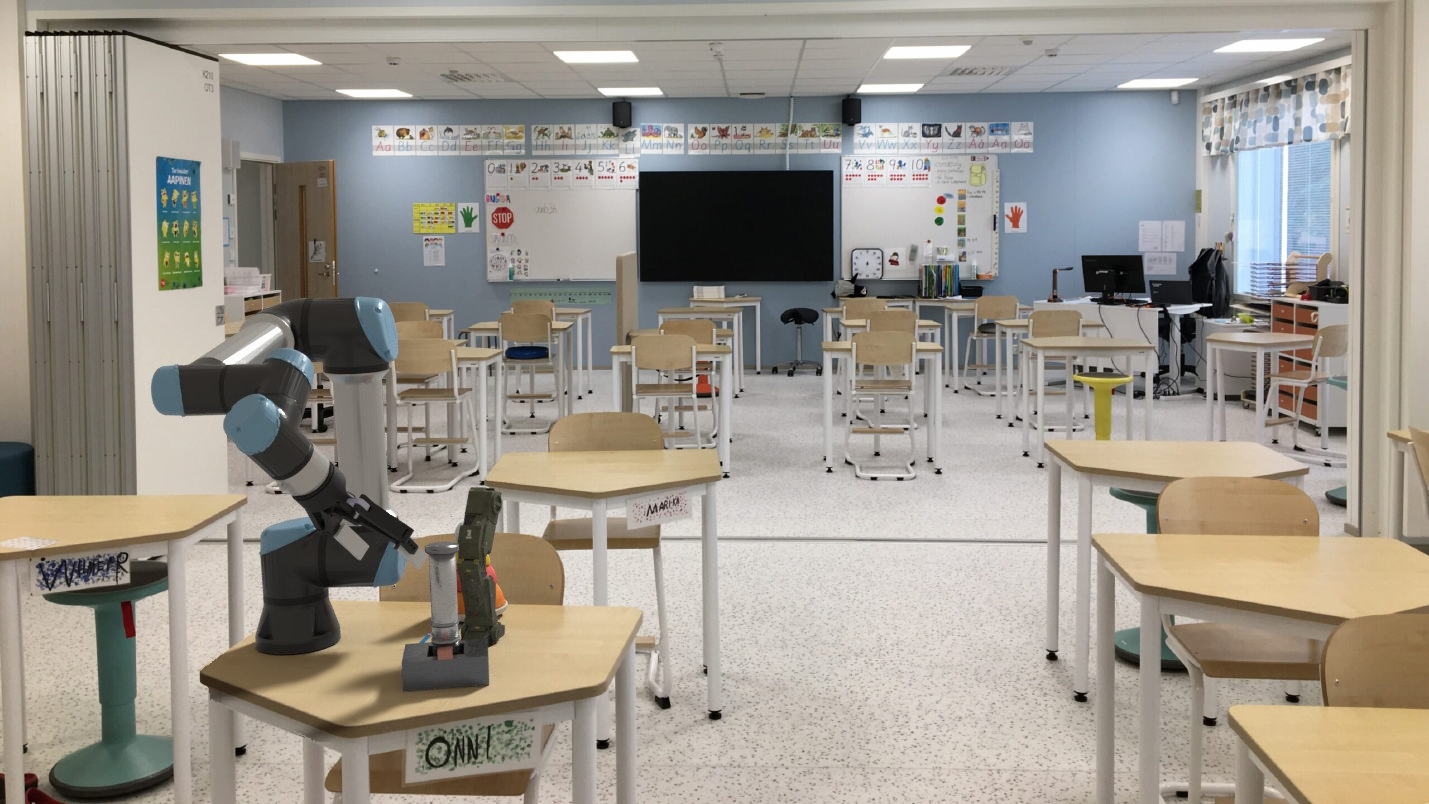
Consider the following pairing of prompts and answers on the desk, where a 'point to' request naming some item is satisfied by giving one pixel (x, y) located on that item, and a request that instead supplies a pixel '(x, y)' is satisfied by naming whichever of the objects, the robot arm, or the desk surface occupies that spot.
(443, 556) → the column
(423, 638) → the pencil
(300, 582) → the robot arm
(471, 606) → the mechanical leg
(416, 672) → the stand
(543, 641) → the desk surface
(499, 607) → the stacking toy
